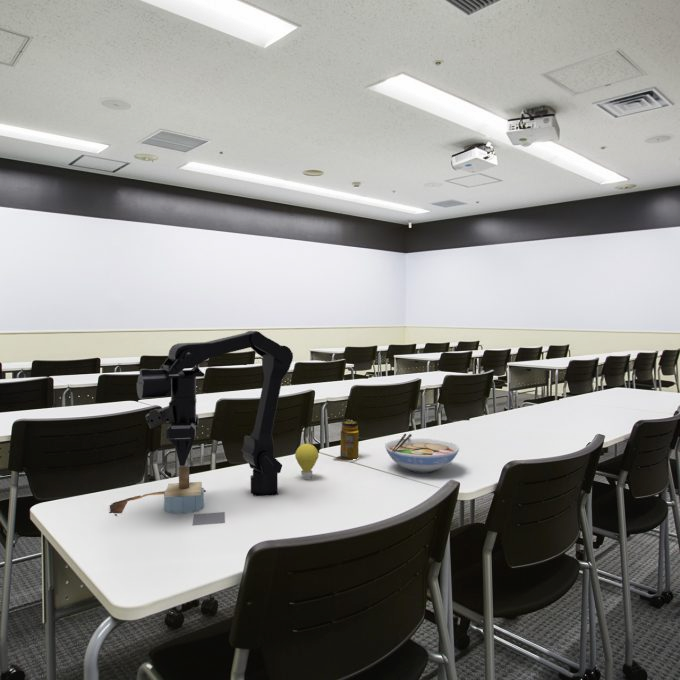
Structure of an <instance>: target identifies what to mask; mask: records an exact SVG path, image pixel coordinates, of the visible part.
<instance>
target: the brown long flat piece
mask: <svg viewBox="0 0 680 680" xmlns="http://www.w3.org/2000/svg"><path fill="white" fill-rule="evenodd" d="M205 492H207V490H206V489H204V493H205ZM164 493H165V490H164V491H156V492H151V493H146V494H143V495H135V496H133V497H128V498H125V499H121V500H118V501H114V502H112V503H111V504H110V505H109V508H110V510H109V512H108V513H109V514H114V515H115V516H116V517H118V514H119V515H120V514H122V513H123V511H124V509H125V508H126V506H127V504H128V502H130V501H135V500H139V499H142V498H145V497H148V496H156V495H157V496H159V495H164Z"/></svg>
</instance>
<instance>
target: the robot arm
mask: <svg viewBox="0 0 680 680" xmlns="http://www.w3.org/2000/svg"><path fill="white" fill-rule="evenodd" d="M249 348H250V349H252V351H254V352H255V353H256V354H257V355H258V356H260V357H261V358H262V360H261V363H262V364H261V365H262V366H261V367H262V372H263V382H262V388H261V392H260V398H259V402H258V408H257V413H256V418H255V422H254V423H255V424H254V428H253V431H252V432H251V433H250V435H249V436H248V435H244V437H243V446H242V447H241V449H240V451H242V457H243V459H244V460H245V462H247V463H248V464H249V465H248V466H249V468H250V469H252V474H251V475H250V494H252V496H253V497H267V496H278V495H279V492H278V474H280V473H281V471H282V467H283V464H282V463H281V462H280V461H279V460H278V459H276V457H275V456H274V455H275V453H274V452H275V444H274V440H273V429H274V424H275V420H276V412H277V407H278V405H279V404H278V402H279V397H280V392H281V388H282V381H283V380H284V378H285V376H286V375H287V373H289V370H290V368H291V365H292V363H293V359H294V354H293V352H292V350H291V349H290V347H289V346H287V345H280V344H279V343H278V342H276V341H274V340H272V339H270V338H268V337H267V336H266V335H264V334H263V333H261V332H260V331H256V330H248V331H245V332H243V333H239V334H235V335H231V336H227V337H222V338H221V337H220V338H218V339H213V340H210V341H204V342H181V343H180V342H179V343H178V342H177V343H176V344H173V345H172V346H171V347H170V349H169V351H168V357H167V358H166V359H165V361H164V362H163V363H162V364H161V366H160V367H159V369H157V368H156V369H154V368H153V369H150V368H149V369H148V368H141V369H139V375H138V377H137V382H136V393H137V394H136V395H137V397H138V399H140V400H142V399H143V400H145V399H155V398H159V399H160V398H166V397H167V395H169V394H171V395H170V402H168V405H167V406H165V407H162V408H159V409H158V408H155V409H153V410H149V413H147V414H146V415H145V419H146V423H147V424H148V427H149V429H155V428H156V427H157V426H159V425H162V424H164V423H165V424H166V423H168V425H169V426H168V427H167V428H166V439H167V441H169V442H170V443H172V444H173V445H174V447H175V451H176V456H177V460H178V464H179V467H180V466H186V462H187V460H188V457H189V455H190V452H191V451H192V447H193V445H194V442H195V440H196V434H197V431H198V426H199V415H198V414H197V378H200V377H205V376H206V374H205V373H204V372H203V371H201V369H200V368H199V365H200V364H203V363H205V362H207V360H209V359H211V358H214V357H218V356H223V355H225V354H229V353H233V352H238V351H242V350H245V349H249ZM191 368H192V369H191Z"/></svg>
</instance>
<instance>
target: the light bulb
mask: <svg viewBox="0 0 680 680" xmlns="http://www.w3.org/2000/svg"><path fill="white" fill-rule="evenodd" d="M294 454H295V455H294V456H295V459H296V461H297V464H298V465H299V466H300V468H301V472H300V473H301V474H300V475H301V476H302V480H311V479H312V476H313V470H312V469H313V468H314V466H315V464H316V463H317V461H318V459H319V451H318V449H317V448H316V446H314V445H313V444H311V443H302V444H301V445H299V446H298V448H297V449H296V450H295V453H294Z"/></svg>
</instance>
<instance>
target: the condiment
mask: <svg viewBox="0 0 680 680" xmlns="http://www.w3.org/2000/svg"><path fill="white" fill-rule="evenodd" d="M358 424H359V423H358V421H352V420H346V421H342V422H341V430H340V455H339V456H336V457H334V458H333V460H334V461H335V460H336V461H340V462H349V463H355V462H356V461H358V460H359V459H357V458H358V457H359V456H360V457H361V458H363V455H359V443H360V442H359V437H360V436H359V433H360V431H359V429H358ZM353 459H356V460H353Z"/></svg>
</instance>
